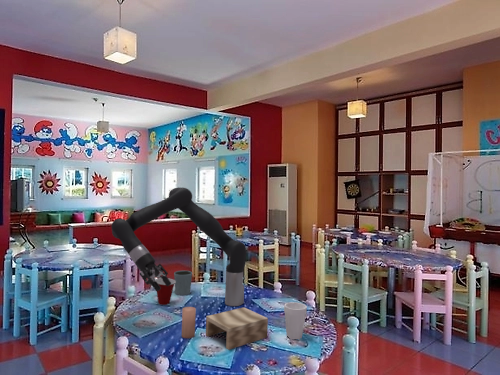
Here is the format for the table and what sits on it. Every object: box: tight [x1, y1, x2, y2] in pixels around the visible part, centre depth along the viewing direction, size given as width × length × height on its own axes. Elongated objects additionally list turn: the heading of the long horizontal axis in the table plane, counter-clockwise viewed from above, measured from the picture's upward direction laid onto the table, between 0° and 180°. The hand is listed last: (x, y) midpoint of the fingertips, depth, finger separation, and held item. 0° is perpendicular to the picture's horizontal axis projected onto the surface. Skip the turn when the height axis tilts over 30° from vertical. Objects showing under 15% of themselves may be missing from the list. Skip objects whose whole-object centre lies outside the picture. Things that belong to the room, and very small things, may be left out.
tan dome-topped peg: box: [180, 306, 197, 339], centre depth 148 cm, size 5×5×11 cm
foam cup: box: [283, 301, 308, 340], centre depth 151 cm, size 10×9×13 cm
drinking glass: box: [173, 270, 193, 296], centre depth 204 cm, size 10×10×12 cm
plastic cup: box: [155, 277, 176, 306], centre depth 187 cm, size 11×11×12 cm
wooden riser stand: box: [205, 307, 269, 351], centre depth 149 cm, size 20×16×8 cm
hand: (164, 287), depth 151 cm, fingers open, 8 cm apart
